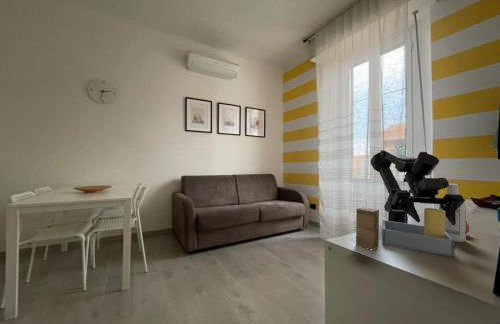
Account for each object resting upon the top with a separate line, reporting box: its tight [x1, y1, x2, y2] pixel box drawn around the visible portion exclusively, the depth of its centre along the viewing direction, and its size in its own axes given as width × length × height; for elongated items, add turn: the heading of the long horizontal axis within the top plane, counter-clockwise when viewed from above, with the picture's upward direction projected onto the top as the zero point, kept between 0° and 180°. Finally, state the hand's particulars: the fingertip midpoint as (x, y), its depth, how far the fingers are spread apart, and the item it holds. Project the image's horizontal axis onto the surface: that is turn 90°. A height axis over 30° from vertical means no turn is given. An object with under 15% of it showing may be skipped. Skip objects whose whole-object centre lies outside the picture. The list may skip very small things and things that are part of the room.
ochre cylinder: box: [423, 207, 445, 238], centre depth 66 cm, size 5×5×12 cm
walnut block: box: [355, 206, 380, 251], centre depth 68 cm, size 5×5×12 cm
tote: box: [381, 219, 456, 259], centre depth 70 cm, size 18×14×5 cm
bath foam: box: [438, 183, 467, 243], centre depth 75 cm, size 7×7×20 cm
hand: (436, 223), depth 65 cm, fingers open, 9 cm apart
